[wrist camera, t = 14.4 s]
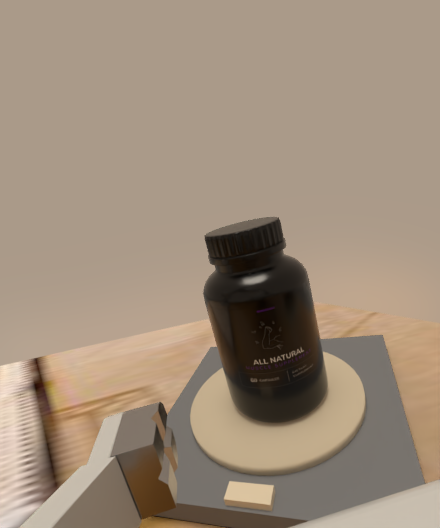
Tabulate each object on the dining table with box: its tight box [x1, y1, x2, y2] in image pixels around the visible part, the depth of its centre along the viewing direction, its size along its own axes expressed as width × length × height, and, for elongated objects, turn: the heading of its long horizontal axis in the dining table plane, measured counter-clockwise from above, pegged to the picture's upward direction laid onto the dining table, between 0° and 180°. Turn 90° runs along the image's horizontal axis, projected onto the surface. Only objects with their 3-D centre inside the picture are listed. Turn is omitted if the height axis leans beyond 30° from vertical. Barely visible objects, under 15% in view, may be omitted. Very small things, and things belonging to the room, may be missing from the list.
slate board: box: [153, 335, 425, 528], centre depth 23 cm, size 16×16×2 cm
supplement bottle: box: [203, 217, 328, 423], centre depth 21 cm, size 7×7×12 cm
